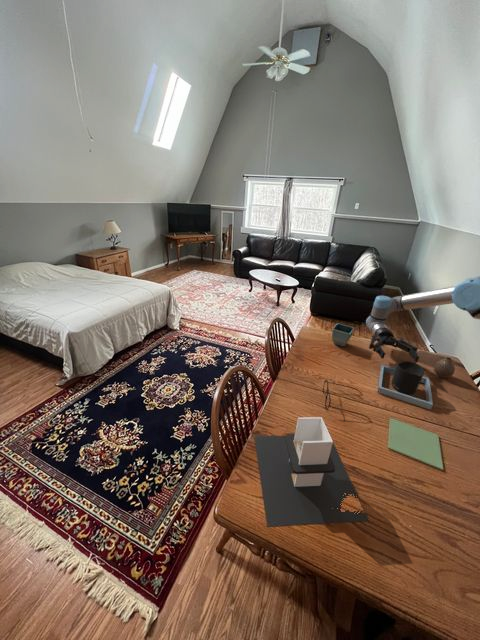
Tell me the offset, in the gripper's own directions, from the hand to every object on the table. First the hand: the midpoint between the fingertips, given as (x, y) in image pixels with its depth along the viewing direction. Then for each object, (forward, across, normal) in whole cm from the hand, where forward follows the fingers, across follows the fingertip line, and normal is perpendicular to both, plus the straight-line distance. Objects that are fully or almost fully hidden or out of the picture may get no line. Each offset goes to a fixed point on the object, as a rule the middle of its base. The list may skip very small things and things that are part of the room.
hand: (400, 357), depth 113 cm
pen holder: (+9, 0, -9) cm, 13 cm away
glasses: (+22, +26, -9) cm, 35 cm away
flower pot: (-23, +18, -9) cm, 31 cm away
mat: (+37, +8, -9) cm, 39 cm away
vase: (-3, -21, -9) cm, 23 cm away
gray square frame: (+9, 0, -9) cm, 12 cm away
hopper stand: (+53, +44, -9) cm, 69 cm away
